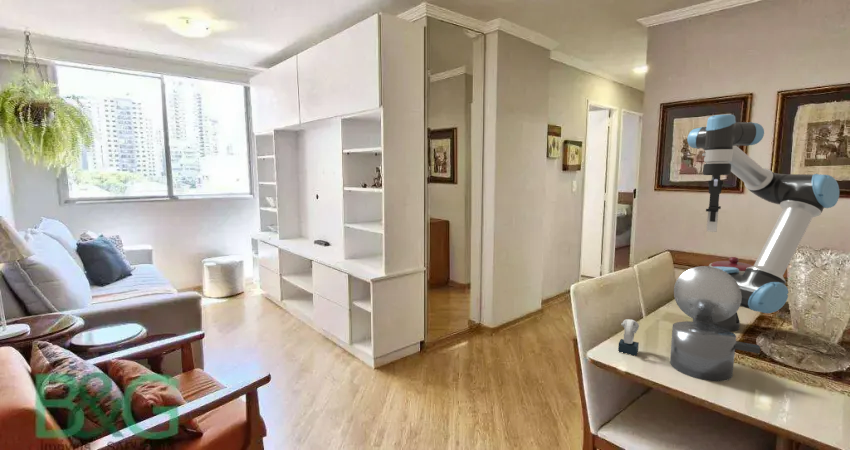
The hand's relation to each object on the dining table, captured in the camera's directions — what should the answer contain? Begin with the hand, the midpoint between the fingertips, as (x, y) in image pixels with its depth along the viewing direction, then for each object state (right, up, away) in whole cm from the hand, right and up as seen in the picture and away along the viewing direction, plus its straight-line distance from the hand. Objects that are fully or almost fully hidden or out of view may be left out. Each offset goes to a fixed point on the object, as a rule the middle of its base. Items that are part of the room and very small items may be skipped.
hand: (711, 229), depth 137 cm
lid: (-6, -21, -6) cm, 23 cm away
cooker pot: (-9, -43, -13) cm, 46 cm away
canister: (+45, -34, +52) cm, 77 cm away
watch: (-28, -42, 0) cm, 50 cm away
